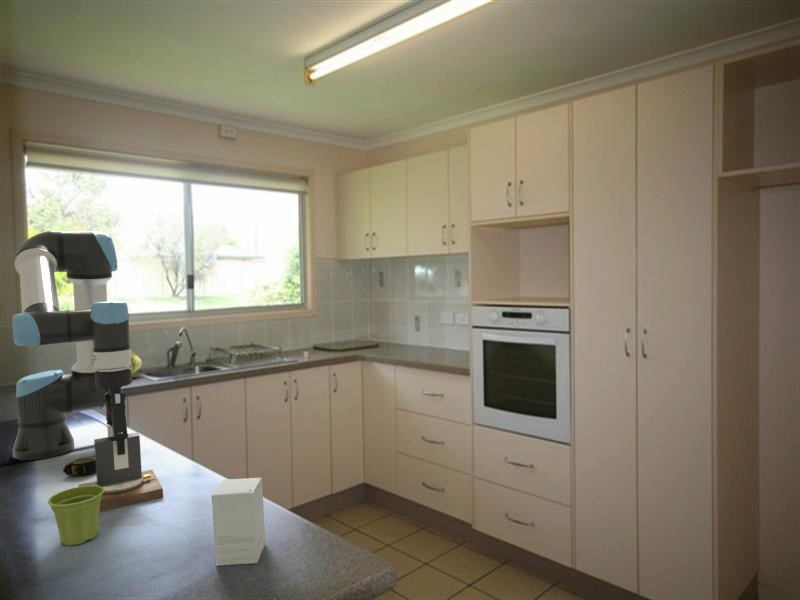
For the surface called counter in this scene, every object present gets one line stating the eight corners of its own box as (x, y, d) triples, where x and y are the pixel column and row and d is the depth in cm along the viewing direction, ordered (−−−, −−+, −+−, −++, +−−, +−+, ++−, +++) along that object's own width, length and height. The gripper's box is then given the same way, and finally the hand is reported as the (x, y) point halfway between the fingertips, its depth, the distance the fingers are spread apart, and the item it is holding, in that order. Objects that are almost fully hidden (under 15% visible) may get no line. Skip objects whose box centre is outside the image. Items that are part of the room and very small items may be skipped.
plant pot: (42, 554, 100) (39, 508, 99) (60, 531, 109) (57, 488, 108) (99, 546, 102) (96, 500, 102) (111, 524, 111) (109, 482, 111)
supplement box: (266, 543, 101) (263, 476, 101) (257, 564, 94) (254, 492, 93) (226, 545, 101) (223, 478, 100) (214, 566, 94) (210, 494, 93)
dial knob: (93, 483, 128) (90, 436, 127) (147, 472, 134) (144, 427, 133) (96, 497, 119) (93, 447, 119) (153, 485, 125) (151, 437, 125)
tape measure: (83, 468, 145) (82, 454, 145) (106, 469, 144) (105, 455, 144) (63, 478, 139) (62, 463, 139) (87, 479, 138) (86, 464, 137)
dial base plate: (78, 492, 128) (78, 483, 128) (152, 477, 137) (152, 468, 137) (82, 515, 116) (81, 505, 115) (163, 497, 124) (162, 487, 124)
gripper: (90, 363, 133) (95, 449, 134) (98, 378, 112) (104, 479, 113) (124, 360, 137) (129, 443, 138) (138, 374, 116) (144, 471, 117)
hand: (118, 460), depth 126 cm, fingers open, 13 cm apart
